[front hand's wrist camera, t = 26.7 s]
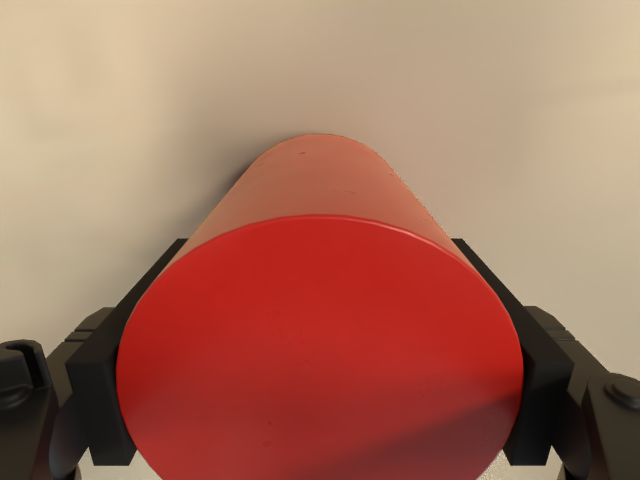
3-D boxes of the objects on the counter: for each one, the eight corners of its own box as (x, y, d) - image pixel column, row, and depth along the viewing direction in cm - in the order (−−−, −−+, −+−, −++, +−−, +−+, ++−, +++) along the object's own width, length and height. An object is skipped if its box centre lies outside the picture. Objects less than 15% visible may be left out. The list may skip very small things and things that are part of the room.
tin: (194, 196, 18) (23, 353, 8) (352, 94, 16) (408, 117, 6) (293, 328, 21) (267, 578, 10) (438, 251, 19) (582, 455, 9)
